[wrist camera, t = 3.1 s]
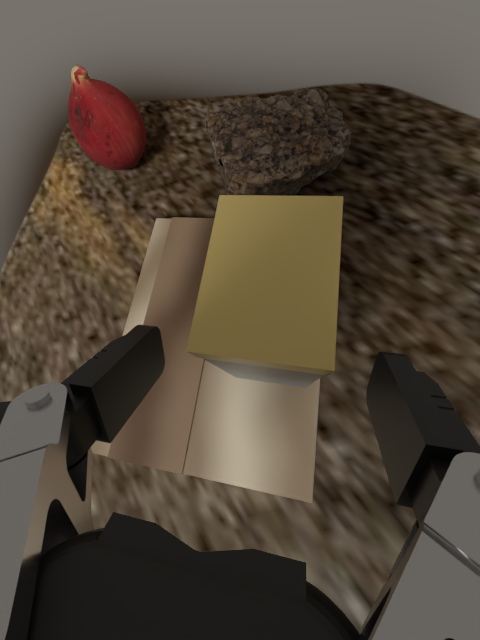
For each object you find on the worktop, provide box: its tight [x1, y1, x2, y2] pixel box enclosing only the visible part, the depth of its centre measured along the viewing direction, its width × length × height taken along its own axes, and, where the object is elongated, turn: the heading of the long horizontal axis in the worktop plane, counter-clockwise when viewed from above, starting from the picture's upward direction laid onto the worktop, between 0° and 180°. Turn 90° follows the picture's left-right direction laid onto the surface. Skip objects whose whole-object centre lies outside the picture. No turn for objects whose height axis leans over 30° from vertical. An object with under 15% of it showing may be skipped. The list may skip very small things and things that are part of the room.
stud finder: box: [186, 195, 343, 388], centre depth 13 cm, size 4×6×9 cm
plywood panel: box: [91, 217, 320, 503], centre depth 18 cm, size 14×18×1 cm
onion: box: [68, 65, 146, 170], centre depth 22 cm, size 6×6×8 cm
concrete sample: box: [204, 88, 351, 196], centre depth 21 cm, size 12×10×5 cm
